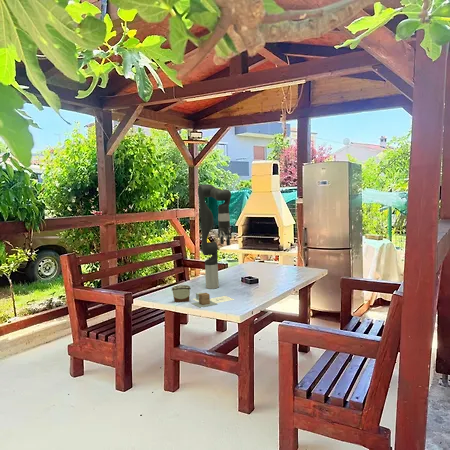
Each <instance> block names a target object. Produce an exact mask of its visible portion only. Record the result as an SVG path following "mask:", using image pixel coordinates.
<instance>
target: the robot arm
mask: <svg viewBox="0 0 450 450" xmlns="http://www.w3.org/2000/svg"><path fill="white" fill-rule="evenodd" d="M197 194H198V202H199V212H200V215H199V217H200V226H201V251H202V255H204V256H211V257H209V258H207V259H206V260H204V268H205V269H204V272H205V273H204V274H205V288H206V289H208V290H209V289H210V290H212V289H213V290H214V289H219V286H220V285H219V265H218V264H219V263H218V260H219V259H218V253H219V252H218V251H219V250H218V243H216V242H215V241H212V242H211V241H210V242H208V237H209V234H210V232H211V230H212V229H213V228H214V227H213V226H214V222H215V221H214V214H213V213H212V211H211V210H210V208H209V206H208V205H207V203H206V200H205V198H213V199H215V200H216V201H218V202H222V201H224V202H223V203H221V204H219V205H217V211H218V217H217V220H218V229H217V237H218V238H219V243H220V245H224V244H226V246H230V245H231V239H232V238H233V237H232V229H229V228H230V227H231V216H230V202H231V200H232V199H231V198H232V192H231V191H230V189H221V188H216V187H215V186H214V185H212V184H199V185H198V186H197ZM224 238H225V239H226V243H224V242H225V241H224Z"/></svg>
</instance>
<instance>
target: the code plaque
mask: <svg viewBox="0 0 450 450" xmlns="http://www.w3.org/2000/svg"><path fill="white" fill-rule="evenodd" d="M234 300H235V299H234V298H231V297H229V296H227V295H224V296H217V297H212V298H210V301H212V302H214V303H217V304H219V303H225V302H230V301H234Z"/></svg>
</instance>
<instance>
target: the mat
mask: <svg viewBox="0 0 450 450" xmlns="http://www.w3.org/2000/svg"><path fill="white" fill-rule="evenodd" d="M191 305H194V306H195V307H197V308H199V309H201V307H203V308H207V307H212V306H217V305H219V303H214V302H212V301H210V304H206V305H201V304H199V301H198V302H197V301H195V302H191Z"/></svg>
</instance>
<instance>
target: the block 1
mask: <svg viewBox="0 0 450 450" xmlns="http://www.w3.org/2000/svg"><path fill="white" fill-rule="evenodd" d="M201 293H203V292H202V291H200V292H196V293H195V298H196V299H197V300H199V294H201Z"/></svg>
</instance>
